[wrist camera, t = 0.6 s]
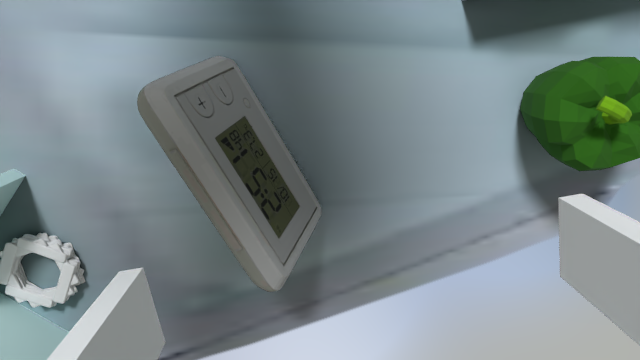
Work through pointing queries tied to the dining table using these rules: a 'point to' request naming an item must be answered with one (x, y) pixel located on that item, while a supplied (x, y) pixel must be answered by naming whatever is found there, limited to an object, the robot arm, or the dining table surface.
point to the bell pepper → (587, 112)
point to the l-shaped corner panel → (32, 288)
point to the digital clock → (234, 165)
